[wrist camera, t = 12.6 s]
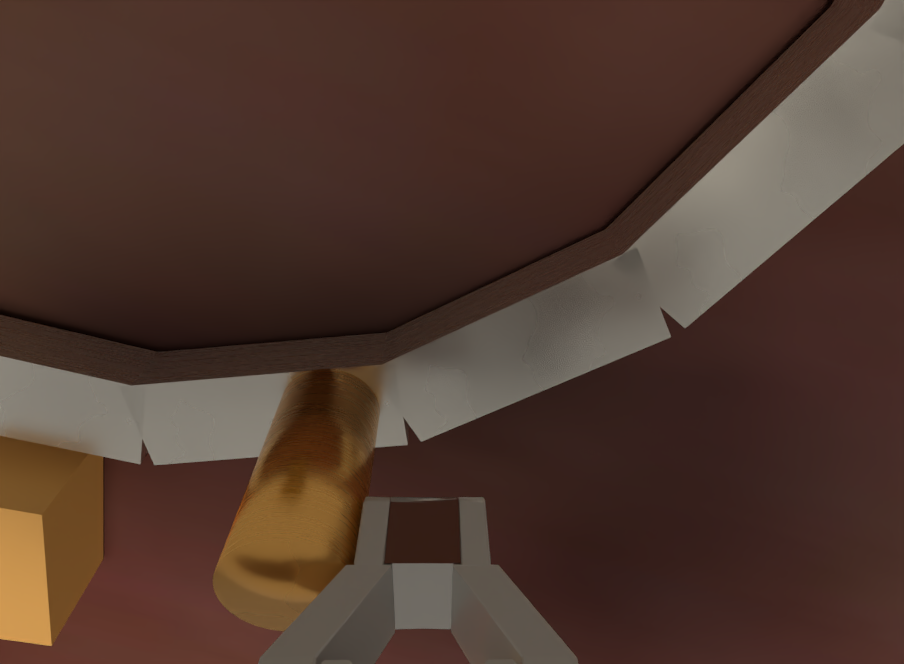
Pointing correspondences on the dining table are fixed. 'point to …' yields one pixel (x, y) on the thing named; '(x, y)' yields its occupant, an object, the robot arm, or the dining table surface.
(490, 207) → the dining table surface
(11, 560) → the pointer block
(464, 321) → the ring
